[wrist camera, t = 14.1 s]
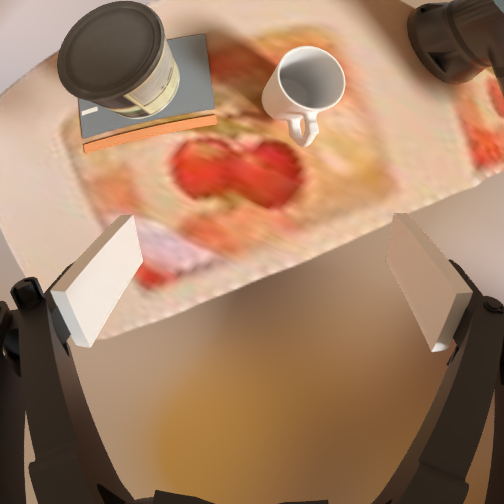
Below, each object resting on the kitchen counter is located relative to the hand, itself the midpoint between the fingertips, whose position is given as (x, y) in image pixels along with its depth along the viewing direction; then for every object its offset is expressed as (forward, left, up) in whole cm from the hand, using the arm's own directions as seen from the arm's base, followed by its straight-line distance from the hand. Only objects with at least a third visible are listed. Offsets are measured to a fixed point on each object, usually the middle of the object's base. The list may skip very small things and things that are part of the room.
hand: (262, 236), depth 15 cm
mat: (+10, -16, -25) cm, 32 cm away
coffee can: (+10, -16, -25) cm, 31 cm away
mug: (-8, -9, -26) cm, 28 cm away
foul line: (+10, -9, -25) cm, 29 cm away
